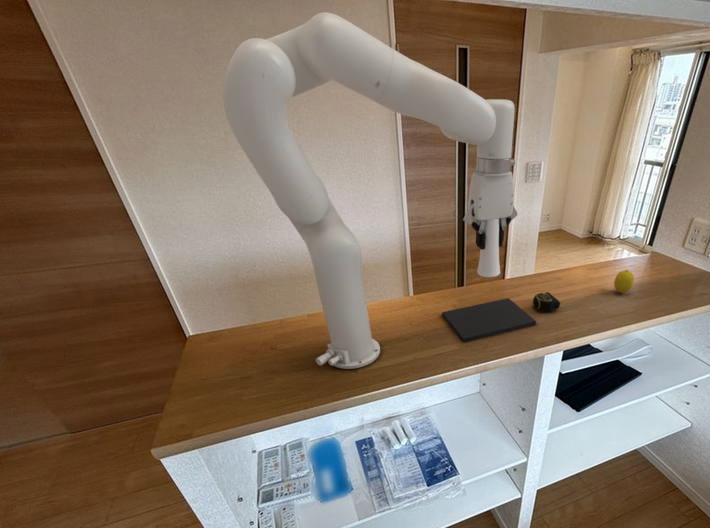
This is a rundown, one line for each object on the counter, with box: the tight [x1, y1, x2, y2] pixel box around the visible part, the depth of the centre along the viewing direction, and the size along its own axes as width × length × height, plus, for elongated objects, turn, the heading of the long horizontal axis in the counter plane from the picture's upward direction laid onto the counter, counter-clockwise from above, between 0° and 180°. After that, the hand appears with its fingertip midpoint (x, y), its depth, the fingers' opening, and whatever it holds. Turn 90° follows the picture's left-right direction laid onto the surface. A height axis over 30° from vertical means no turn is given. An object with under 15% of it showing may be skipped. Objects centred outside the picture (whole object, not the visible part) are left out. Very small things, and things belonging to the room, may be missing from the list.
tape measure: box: [532, 291, 561, 312], centre depth 110 cm, size 7×7×4 cm
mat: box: [441, 297, 537, 343], centre depth 104 cm, size 22×15×1 cm
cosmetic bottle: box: [476, 219, 501, 278], centre depth 90 cm, size 6×6×22 cm
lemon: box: [613, 269, 635, 294], centre depth 117 cm, size 6×6×8 cm
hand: (489, 245), depth 92 cm, fingers closed on cosmetic bottle, 4 cm apart
